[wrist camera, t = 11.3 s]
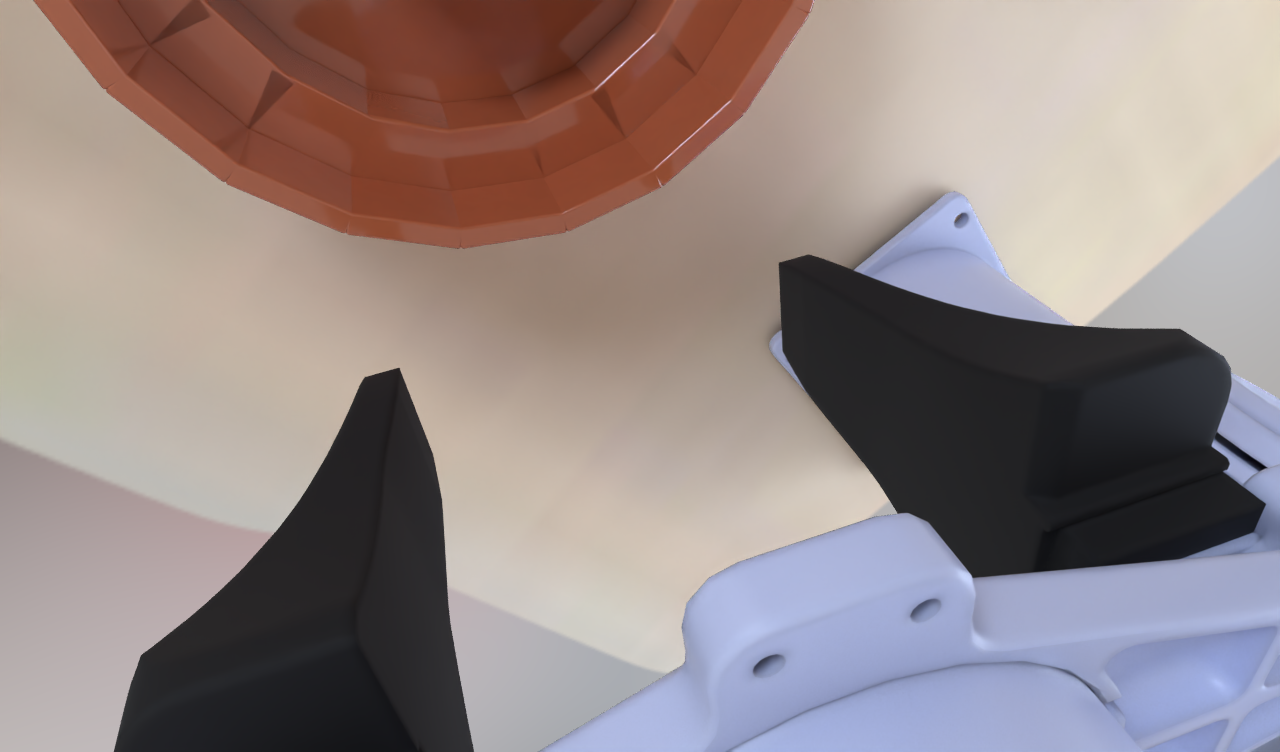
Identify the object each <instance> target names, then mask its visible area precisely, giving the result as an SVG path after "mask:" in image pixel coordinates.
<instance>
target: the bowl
mask: <svg viewBox="0 0 1280 752" xmlns="http://www.w3.org/2000/svg"><path fill="white" fill-rule="evenodd" d="M814 1H815V0H34V2H35V3H36V4H37V5H38V7H39V8H40V9H41V11H42V12H43V13H44V14H45V16H46V17H47V18H48V19H49V21H50V22H51V23H52V25H53V26H54V27H55V28H56V30H57V31H58V32H59V33H60V35H61V36H62V37H63V39H64V40H65V41H66V42H67V44H68V45H69V46H70V48H71V49H72V50H73V51H74V53H75V54H76V55H77V56H78V58H79V59H80V60H81V62H82V63H83V64H84V65H85V67H86V68H87V69H88V70H89V72H90V73H91V74H92V76H93V77H94V78H95V79H96V81H97V82H98V83H99V84H100V86H101V87H102V88H103V89H106V92H107V93H108V94H109V95H111V96H112V97H113V98H115V99H116V100H117V101H119V102H120V103H121V104H122V105H124V106H125V107H126V108H128V109H129V110H130V111H131V112H133V113H134V114H135V115H137V116H138V117H139V118H141V119H142V120H143V121H144V122H146V123H147V124H148V125H150V126H151V127H152V128H154V129H155V130H156V131H157V132H159V133H160V134H161V135H163V136H164V137H165V138H167V139H168V140H169V141H170V142H172V143H173V144H174V145H176V146H177V147H178V148H180V149H181V150H182V151H183V152H185V153H186V154H187V155H189V156H190V157H191V158H193V159H194V160H195V161H196V162H198V163H199V164H200V165H202V166H203V167H204V168H205V169H207V170H208V171H209V172H211V173H212V174H213V175H215V176H216V177H217V178H218V179H220V180H221V181H223V182H226V183H227V184H228V185H230V186H232V187H235V188H237V189H239V190H242V191H244V192H246V193H249V194H251V195H254V196H256V197H258V198H261V199H263V200H265V201H268V202H270V203H273V204H275V205H277V206H280V207H282V208H284V209H287V210H289V211H292V212H294V213H296V214H299V215H301V216H303V217H306V218H308V219H311V220H313V221H315V222H318V223H320V224H322V225H325V226H327V227H330V228H332V229H334V230H337V231H339V232H341V233H347V234H348V235H355V236H363V237H371V238H378V239H386V240H394V241H402V242H410V243H418V244H425V245H433V246H441V247H449V248H457V249H459V248H463V249H465V248H471V247H477V246H483V245H490V244H496V243H502V242H509V241H515V240H521V239H528V238H534V237H540V236H547V235H553V234H559V233H565V232H566V231H571V230H573V229H575V228H577V227H579V226H581V225H584V224H586V223H588V222H590V221H592V220H594V219H596V218H598V217H600V216H602V215H605V214H607V213H609V212H611V211H613V210H615V209H617V208H619V207H621V206H623V205H625V204H628V203H630V202H632V201H634V200H636V199H638V198H640V197H642V196H644V195H646V194H649V193H651V192H653V191H655V190H657V189H659V188H661V187H662V186H664V185H665V184H666V183H667V182H669V181H670V180H671V179H672V178H673V177H674V176H675V175H676V174H678V173H679V172H680V171H681V170H682V169H683V168H684V167H686V166H687V165H688V164H689V163H690V162H691V161H692V160H693V159H695V158H696V157H697V156H698V155H699V154H700V153H701V152H702V151H704V150H705V149H706V148H707V147H708V146H709V145H710V144H711V143H713V142H714V141H715V140H716V139H717V138H718V137H719V136H720V135H722V134H723V133H724V132H725V131H726V130H727V129H728V128H729V127H731V126H732V125H733V124H734V123H735V122H736V121H737V120H738V119H740V118H741V117H742V116H743V113H745V112H746V111H747V110H748V108H749V107H750V105H751V103H752V102H753V100H754V99H755V97H756V96H757V94H758V93H759V91H760V90H761V88H762V87H763V85H764V84H765V82H766V81H767V79H768V77H769V76H770V74H771V73H772V71H773V70H774V68H775V67H776V65H777V64H778V62H779V61H780V59H781V58H782V56H783V55H784V53H785V52H786V50H787V48H788V47H789V45H790V44H791V42H792V41H793V39H794V38H795V36H796V35H797V33H798V32H799V30H800V29H801V27H802V26H803V24H804V22H805V21H806V19H807V18H808V16H809V15H808V13H810V12H811V9H812V7H813V4H814Z"/></svg>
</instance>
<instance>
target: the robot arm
mask: <svg viewBox="0 0 1280 752" xmlns="http://www.w3.org/2000/svg"><path fill="white" fill-rule="evenodd" d="M959 214H961V216H960V218H959V219H958V220H957V221H956V222H954V221H955V218H956V217H957V216H958V215H959ZM779 279H780V303H781V328H782V329H781V330H780V331H779V332H778V333H776V334H775V335H774V336H773V337H772V339H771V341H770V343H769V349H770V351H771V353H772V354H773V355H774V357H775V358H776V359H777V360H778V361H779V362H780V364H781V365H782V366H783V367H784V368H785V369H786V370H787V371H788V373H789V374H790V375H791V376H792V377H793V378H794V379H795V380H796V382H797V383H798V384H799V385H800V386H801V387H802V388H803V390H804V391H805V392H806V393H807V394H808V395H809V396H810V397H811V399H812V400H813V401H814V402H815V404H816V405H817V406H818V407H819V409H820V410H821V411H822V412H823V414H824V415H825V416H826V418H827V419H828V420H829V421H830V422H831V424H832V425H833V426H834V427H835V429H836V430H837V431H838V432H839V434H840V435H841V436H842V437H843V438H844V440H845V441H846V442H847V443H848V445H849V446H850V447H851V448H852V449H853V451H854V452H855V453H856V454H857V456H858V457H859V458H860V459H861V461H862V462H863V463H864V464H865V465H866V467H867V468H868V469H869V471H870V472H871V473H872V475H873V476H874V478H875V479H876V480H877V482H878V483H879V484H880V486H881V488H882V489H883V491H884V492H885V494H886V495H887V497H888V499H889V500H890V502H891V503H892V505H893V507H894V508H895V510H896V511H897V513H898V514H893V515H884V516H876V517H872V518H869V519H866V520H863V521H860V522H857V523H854V524H851V525H848V526H845V527H842V528H839V529H836V530H833V531H830V532H827V533H824V534H821V535H818V536H815V537H812V538H809V539H806V540H803V541H800V542H797V543H794V544H791V545H788V546H785V547H782V548H779V549H776V550H773V551H770V552H767V553H764V554H761V555H758V556H755V557H752V558H749V559H746V560H743V561H740V562H737V563H735V564H733V565H731V566H730V567H728V568H726V569H724V570H722V571H720V572H718V573H716V574H715V575H713V576H711V577H709V578H708V579H707V580H706V582H705V583H704V584H703V585H702V586H701V587H700V588H699V589H698V591H697V592H696V593H695V594H694V595H693V596H692V597H691V599H690V600H689V601H688V603H687V604H686V609H685V614H684V619H683V623H682V633H683V639H684V644H685V650H686V653H685V663H684V664H683V665H682V666H680V667H678V668H677V669H675V670H673V671H672V672H670V673H668V674H667V675H665V676H663V677H662V678H660V679H658V680H657V681H655V682H653V683H652V684H650V685H648V686H647V687H645V688H643V689H642V690H640V691H638V692H637V693H635V694H633V695H632V696H630V697H628V698H626V699H625V700H623V701H621V702H620V703H618V704H617V705H615V706H613V707H612V708H610V709H608V710H606V711H605V712H603V713H601V714H600V715H598V716H597V717H595V718H593V719H591V720H590V721H588V722H586V723H585V724H583V725H581V726H580V727H578V728H576V729H575V730H573V731H571V732H570V733H568V734H566V735H565V736H563V737H561V738H560V739H558V740H556V741H555V742H553V743H551V744H550V745H548V746H546V747H545V748H543V749H541V750H540V751H538V752H1280V399H1279V398H1277V397H1275V396H1273V395H1272V394H1270V393H1268V392H1266V391H1265V390H1263V389H1261V388H1259V387H1258V386H1256V385H1254V384H1252V383H1250V382H1249V381H1247V380H1245V379H1243V378H1241V377H1239V376H1237V375H1235V374H1233V373H1231V368H1230V366H1229V364H1228V363H1227V361H1226V359H1225V358H1224V356H1222V355H1220V354H1219V353H1217V352H1216V351H1214V350H1212V349H1211V348H1209V347H1208V346H1206V345H1205V344H1203V343H1202V342H1200V341H1198V340H1197V339H1195V338H1194V337H1192V336H1191V335H1189V334H1187V333H1186V332H1184V331H1183V330H1181V329H1117V328H1098V327H1084V326H1074V325H1073V324H1071V323H1070V322H1068V321H1067V320H1065V319H1064V318H1063V317H1061V316H1060V315H1058V314H1057V313H1056V312H1054V311H1053V310H1051V309H1050V308H1049V307H1047V306H1046V305H1044V304H1043V303H1041V302H1040V301H1039V300H1037V299H1036V298H1034V297H1033V296H1032V295H1030V294H1029V293H1027V292H1026V291H1025V290H1023V289H1022V288H1020V287H1019V286H1018V285H1016V284H1015V283H1013V282H1012V281H1011V280H1010V278H1009V276H1008V275H1007V273H1006V271H1005V269H1004V267H1003V265H1002V263H1001V261H1000V259H999V258H998V256H997V254H996V252H995V250H994V248H993V246H992V244H991V242H990V241H989V239H988V237H987V235H986V233H985V231H984V229H983V227H982V226H981V224H980V222H979V220H978V218H977V216H976V214H975V212H974V210H973V209H972V207H971V205H970V203H969V201H968V199H967V198H966V197H965V196H964V195H962V194H961V193H959V192H955V191H954V192H949V193H947V194H946V195H944V196H943V197H942V198H940V199H939V200H938V201H937V202H935V203H934V204H933V205H932V206H931V207H929V208H928V209H927V210H926V211H925V212H923V213H922V214H921V215H920V216H918V217H917V218H916V219H915V220H914V221H912V222H911V223H910V224H909V225H908V226H906V227H905V228H904V229H903V230H901V231H900V232H899V233H898V234H897V235H895V236H894V237H893V238H892V239H891V240H889V241H888V242H887V243H886V244H884V245H883V246H882V247H881V248H880V249H878V250H877V251H876V252H875V253H874V254H872V255H871V256H870V257H869V258H867V259H866V260H865V261H864V262H863V263H861V264H860V265H859V266H858V267H857V268H855V269H854V270H851V269H849V268H846V267H843V266H841V265H838V264H835V263H833V262H830V261H827V260H825V259H822V258H819V257H815V256H812V255H805V256H802V257H798V258H795V259H791V260H787V261H784V262H780V263H779ZM114 752H474V749H473V744H472V740H471V735H470V730H469V724H468V719H467V714H466V708H465V703H464V697H463V692H462V687H461V681H460V676H459V671H458V665H457V659H456V653H455V648H454V642H453V636H452V631H451V625H450V616H449V608H448V593H447V575H446V557H445V540H444V524H443V508H442V498H441V493H440V487H439V482H438V477H437V472H436V467H435V462H434V457H433V453H432V451H431V448H430V446H429V443H428V440H427V438H426V435H425V433H424V430H423V428H422V425H421V422H420V420H419V417H418V415H417V412H416V410H415V407H414V404H413V402H412V399H411V397H410V394H409V392H408V389H407V386H406V384H405V381H404V379H403V376H402V374H401V371H400V368H397V369H393V370H389V371H386V372H382V373H379V374H375V375H371V376H368V377H365V378H364V379H363V381H362V383H361V384H360V386H359V389H358V391H357V393H356V396H355V398H354V400H353V403H352V405H351V407H350V409H349V412H348V414H347V416H346V418H345V420H344V422H343V425H342V427H341V429H340V431H339V433H338V435H337V437H336V439H335V440H334V442H333V444H332V446H331V448H330V450H329V452H328V454H327V456H326V458H325V460H324V461H323V463H322V465H321V466H320V468H319V470H318V471H317V473H316V475H315V477H314V478H313V480H312V482H311V483H310V485H309V487H308V488H307V490H306V491H305V493H304V494H303V496H302V497H301V499H300V500H299V502H298V503H297V505H296V506H295V508H294V509H293V510H292V512H291V513H290V514H289V515H288V517H287V518H286V519H285V521H284V522H283V523H282V525H281V526H280V527H279V528H278V530H277V531H276V532H275V533H274V534H273V535H272V537H271V538H270V539H269V540H268V541H267V542H266V543H265V545H264V546H263V547H262V548H261V549H260V550H259V551H258V552H257V553H256V555H255V556H254V557H253V558H252V559H251V560H250V561H249V562H248V563H247V565H246V566H245V567H244V568H243V569H242V570H241V571H240V572H239V573H238V574H237V575H236V576H235V577H234V578H233V579H232V580H231V581H230V582H229V583H228V584H227V585H225V586H224V588H222V589H221V590H220V591H219V592H218V593H217V594H216V595H215V596H214V597H212V598H211V599H210V600H209V601H208V602H207V603H206V604H205V605H204V606H203V607H201V608H200V609H199V610H198V611H197V612H196V613H194V614H193V615H192V616H191V617H190V618H188V619H187V620H186V621H185V622H183V623H182V624H181V625H180V626H178V627H177V628H176V629H174V630H173V631H172V632H171V633H169V634H168V635H167V636H166V637H164V638H163V639H162V640H161V641H159V642H158V643H157V644H155V645H154V646H153V647H152V648H150V649H149V650H148V651H146V652H145V653H143V654H142V655H141V657H140V660H139V663H138V666H137V669H136V671H135V674H134V677H133V680H132V682H131V686H130V689H129V693H128V696H127V700H126V704H125V708H124V712H123V716H122V720H121V725H120V729H119V733H118V737H117V741H116V745H115V749H114Z"/></svg>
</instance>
